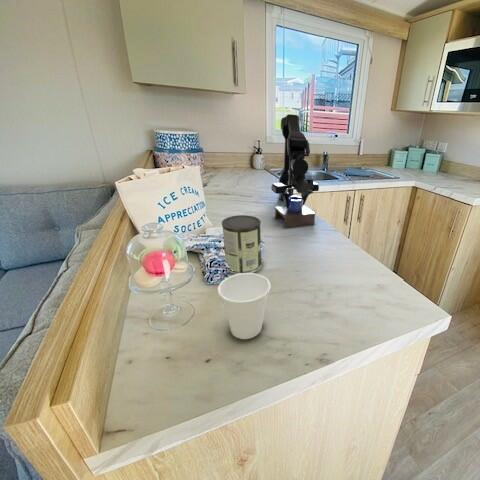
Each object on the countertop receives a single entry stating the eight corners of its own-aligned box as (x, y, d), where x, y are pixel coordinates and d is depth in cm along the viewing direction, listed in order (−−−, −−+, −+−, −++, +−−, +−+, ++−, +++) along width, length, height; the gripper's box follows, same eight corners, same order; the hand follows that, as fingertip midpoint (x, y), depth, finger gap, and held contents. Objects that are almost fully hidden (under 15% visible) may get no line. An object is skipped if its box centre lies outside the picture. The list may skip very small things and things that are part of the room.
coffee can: (241, 254, 87) (239, 212, 81) (268, 263, 83) (268, 219, 77) (217, 268, 78) (213, 222, 72) (246, 279, 75) (244, 231, 69)
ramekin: (298, 206, 119) (299, 195, 117) (305, 211, 114) (305, 200, 112) (284, 208, 116) (285, 196, 114) (290, 213, 111) (291, 201, 109)
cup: (227, 313, 62) (224, 272, 57) (272, 314, 63) (272, 272, 58) (216, 348, 53) (211, 301, 48) (268, 347, 54) (268, 302, 49)
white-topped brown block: (302, 215, 125) (302, 204, 123) (314, 224, 115) (315, 213, 113) (275, 218, 119) (275, 207, 117) (285, 228, 109) (285, 216, 107)
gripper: (281, 174, 97) (280, 216, 104) (326, 173, 106) (323, 211, 112) (271, 168, 106) (271, 207, 113) (313, 167, 115) (311, 203, 121)
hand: (294, 207), depth 114 cm, fingers closed on ramekin, 6 cm apart
